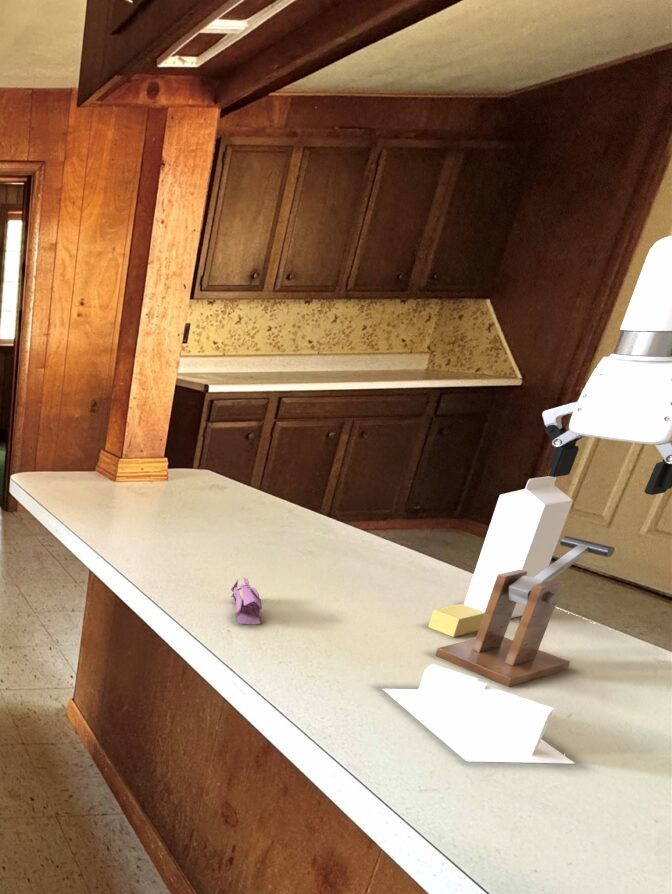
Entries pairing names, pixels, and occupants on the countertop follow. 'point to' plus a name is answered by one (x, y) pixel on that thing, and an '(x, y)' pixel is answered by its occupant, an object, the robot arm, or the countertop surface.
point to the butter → (456, 620)
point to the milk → (520, 537)
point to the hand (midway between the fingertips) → (604, 484)
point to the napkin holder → (479, 718)
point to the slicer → (504, 655)
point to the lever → (557, 566)
